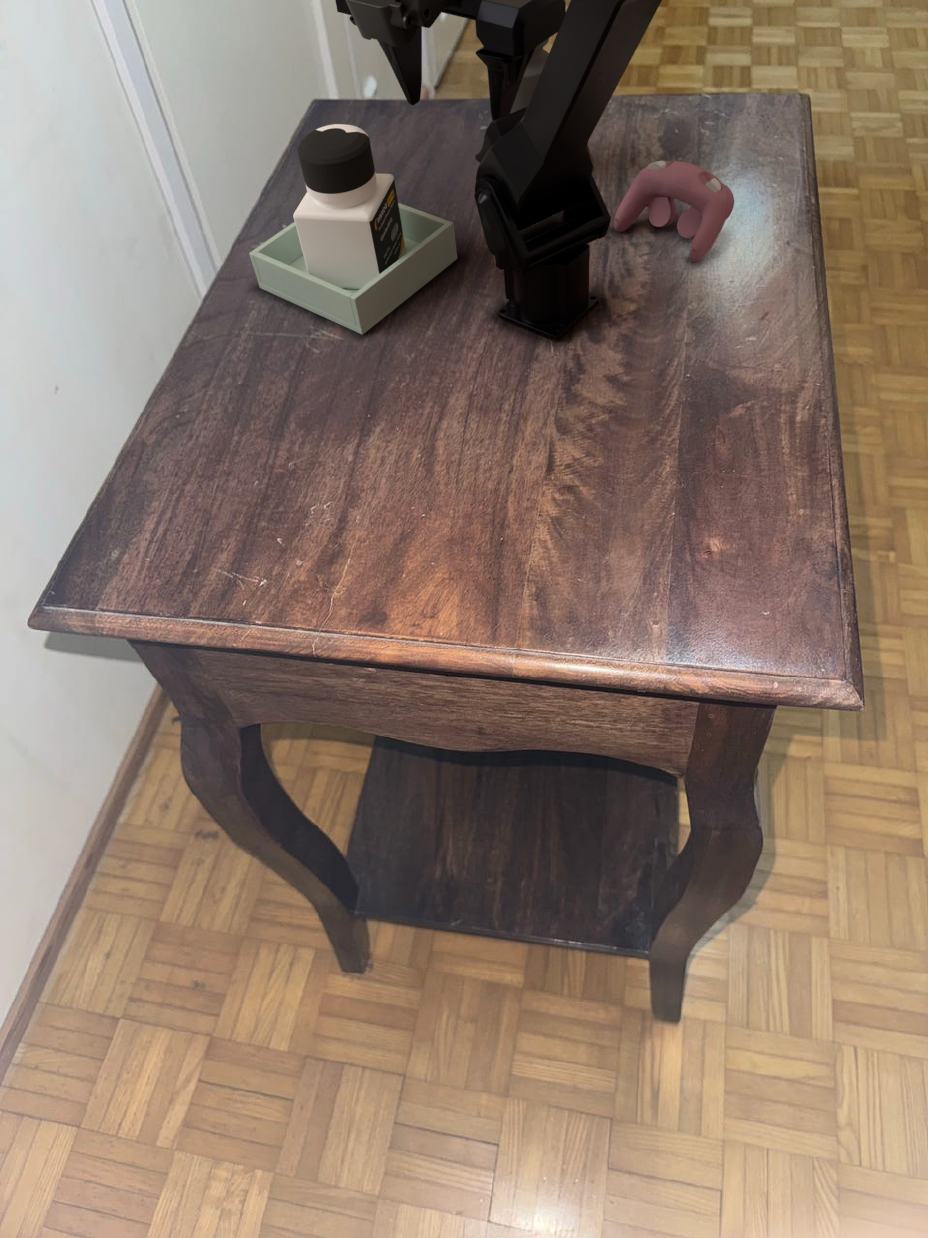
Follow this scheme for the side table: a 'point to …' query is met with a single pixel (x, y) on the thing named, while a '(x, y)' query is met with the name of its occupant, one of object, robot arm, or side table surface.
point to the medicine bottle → (346, 209)
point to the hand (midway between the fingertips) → (456, 115)
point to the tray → (365, 307)
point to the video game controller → (686, 185)
